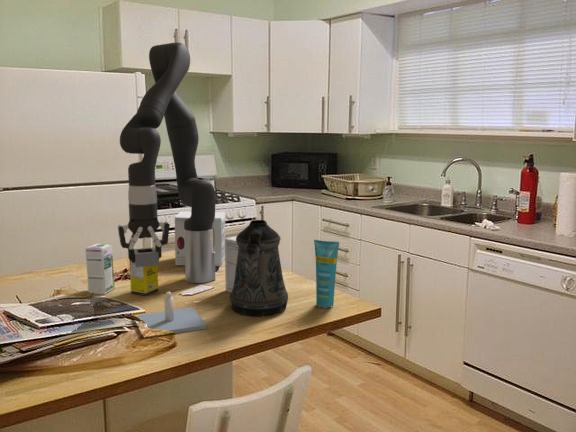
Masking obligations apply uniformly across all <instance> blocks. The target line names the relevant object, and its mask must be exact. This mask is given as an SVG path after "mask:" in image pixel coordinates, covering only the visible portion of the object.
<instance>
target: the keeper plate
mask: <svg viewBox="0 0 576 432" xmlns="http://www.w3.org/2000/svg"><path fill="white" fill-rule="evenodd" d="M138 315H139V316H138V318H139V319H140V320H143V321H144V322H145V323H147V327H148V328H151V329H160V330H169V331H172V332H174V333H175V334H178V333H179V334H180V333H186V332H187V333H188V332H194V331H199V330H200V331H201V330H206V329H208V324H207V323H206V321H205V320H204V319H203V318H202V317H201V316H200V315H199V313H198V312H197V311H196V310H195V308H194V307H186V308H177V309H174V297H173V296H172V292H171V291H167V292H165V297H164V311H158V312H150V313H143V314H138Z"/></svg>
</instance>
